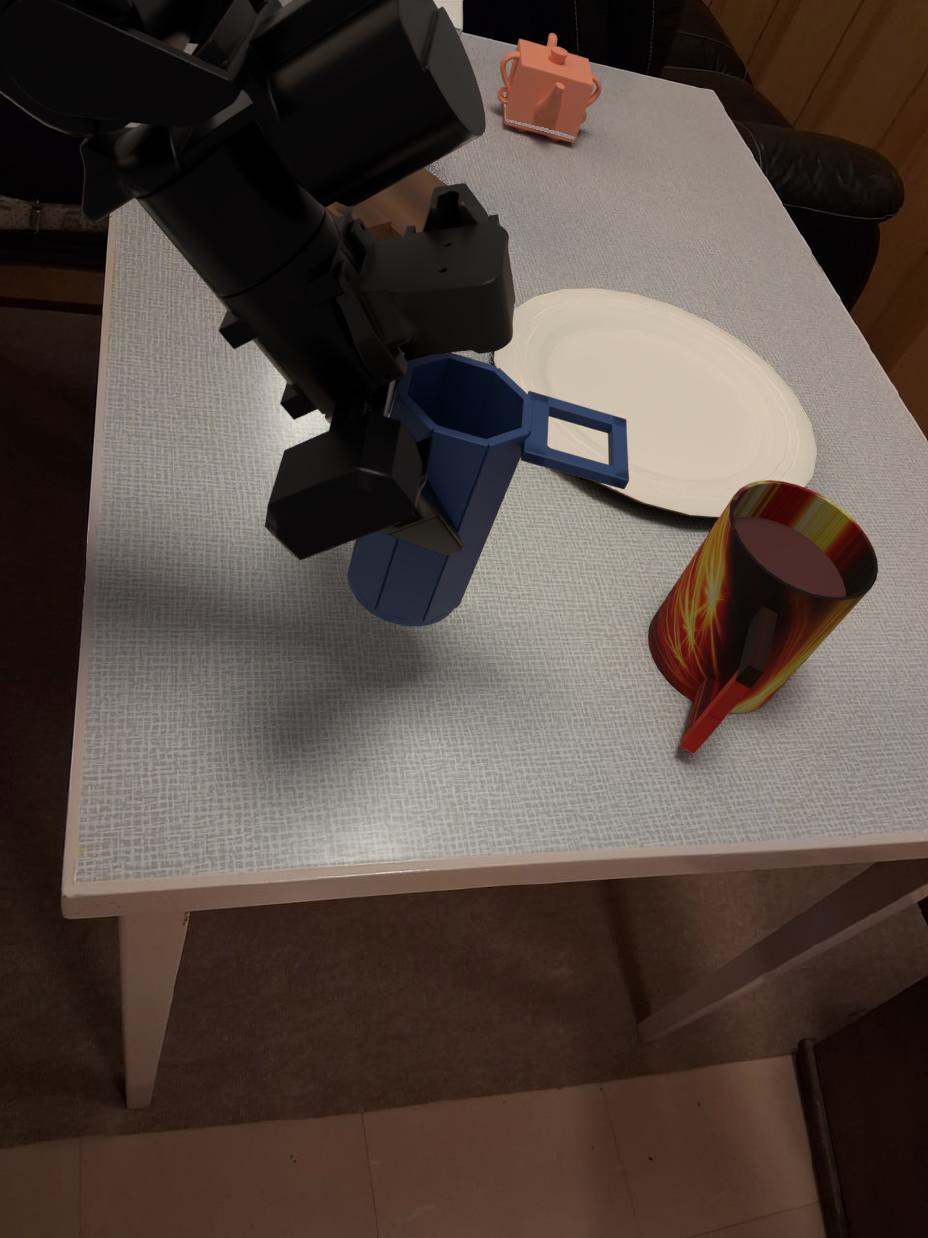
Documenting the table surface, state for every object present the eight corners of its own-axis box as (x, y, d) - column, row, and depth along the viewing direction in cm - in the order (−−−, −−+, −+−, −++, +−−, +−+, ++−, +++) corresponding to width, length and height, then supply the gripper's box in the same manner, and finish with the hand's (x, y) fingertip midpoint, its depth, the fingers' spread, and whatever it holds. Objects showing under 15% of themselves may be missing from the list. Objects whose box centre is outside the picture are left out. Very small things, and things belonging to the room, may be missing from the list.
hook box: (354, 370, 75) (394, 182, 64) (273, 299, 78) (296, 107, 66) (462, 326, 83) (515, 151, 71) (384, 263, 86) (423, 85, 74)
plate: (520, 266, 91) (527, 248, 90) (803, 371, 93) (813, 355, 92) (453, 453, 72) (460, 434, 71) (811, 581, 74) (824, 565, 72)
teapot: (579, 109, 118) (604, 37, 111) (589, 168, 108) (617, 93, 102) (486, 83, 115) (506, 7, 109) (488, 141, 106) (510, 62, 100)
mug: (673, 763, 60) (768, 649, 51) (637, 592, 68) (713, 469, 59) (810, 775, 62) (925, 669, 53) (758, 608, 70) (850, 492, 61)
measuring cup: (337, 610, 51) (390, 418, 42) (357, 529, 55) (408, 339, 46) (538, 660, 53) (632, 487, 43) (542, 578, 57) (628, 404, 48)
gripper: (408, 292, 30) (610, 596, 40) (457, 59, 42) (602, 337, 52) (148, 421, 34) (386, 663, 44) (259, 178, 46) (427, 412, 56)
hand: (459, 504), depth 49 cm, fingers closed on measuring cup, 6 cm apart
